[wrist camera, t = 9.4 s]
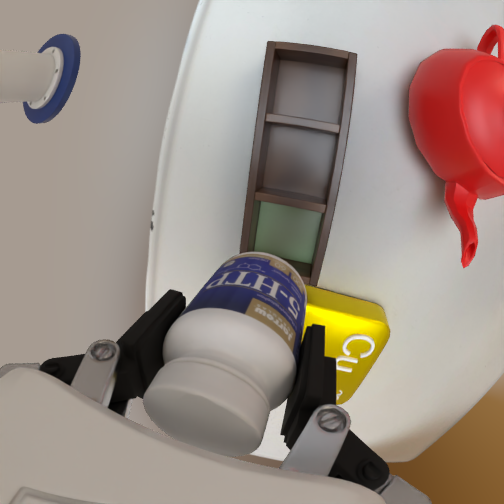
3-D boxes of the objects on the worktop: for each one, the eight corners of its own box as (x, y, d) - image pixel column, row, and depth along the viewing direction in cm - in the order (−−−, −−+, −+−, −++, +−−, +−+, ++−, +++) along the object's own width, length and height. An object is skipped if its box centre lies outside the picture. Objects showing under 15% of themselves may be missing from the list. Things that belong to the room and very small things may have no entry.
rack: (246, 255, 31) (237, 269, 28) (274, 54, 23) (267, 40, 19) (317, 269, 30) (316, 286, 27) (352, 65, 21) (357, 53, 18)
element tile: (271, 273, 32) (263, 294, 27) (389, 305, 30) (398, 329, 25) (247, 362, 38) (238, 385, 33) (344, 386, 36) (344, 410, 31)
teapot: (413, 12, 16) (450, -39, 5) (515, 76, 15) (572, 65, 4) (366, 208, 26) (397, 250, 15) (472, 255, 25) (525, 306, 14)
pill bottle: (319, 264, 14) (312, 411, 6) (292, 341, 16) (263, 476, 8) (220, 237, 14) (114, 342, 6) (208, 316, 16) (135, 430, 8)
